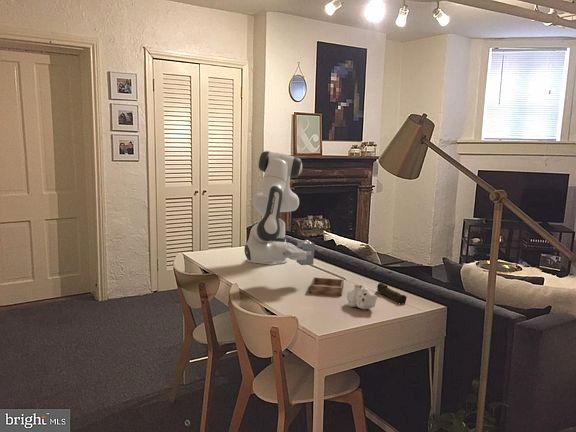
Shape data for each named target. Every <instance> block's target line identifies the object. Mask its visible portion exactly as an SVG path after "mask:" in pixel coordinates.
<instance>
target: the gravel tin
mask: <svg viewBox="0 0 576 432" xmlns="http://www.w3.org/2000/svg"><path fill="white" fill-rule="evenodd" d="M296 246H297V247H298V248H300V249H302V250H304V251H307V250H310V251H311V255H306V259H305V260H295V262H296V263H298V264H299V265H300V266H311V265H312V266H313V265H314V262H315V261H314V259H315V242H313V241H310V240H308V239H304V240H298V241H297V245H296Z"/></svg>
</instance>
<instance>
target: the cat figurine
mask: <svg viewBox="0 0 576 432" xmlns="http://www.w3.org/2000/svg"><path fill="white" fill-rule="evenodd" d="M353 286H354V289H352V290H350V291H349V292H348V293H347V294H346V300H347V301H348V303H347V306H348V307H349V308H355V307H357V308H359V309H360V310H370V309H372V308H375V307H376V302H377V299H378V298H379V296H378V295H375V294H374V293H373V292H372V291H370V290H369V288H367V287H363V285H362V284H354V285H353Z"/></svg>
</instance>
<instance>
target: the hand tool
mask: <svg viewBox="0 0 576 432" xmlns="http://www.w3.org/2000/svg"><path fill="white" fill-rule="evenodd" d="M376 289H377V292H378V293H379V294H380V295H382V296H386V297H388V298H390V299H391V300H393V301H396V302H397V304H399V303H404V304H405V303H406V302H407V296H406V295H404V294H401V293H399V292H398V291H395V290H393V289H391V288H390V287H388V285H386V284H385V283H383V282H378V284H377V287H376Z"/></svg>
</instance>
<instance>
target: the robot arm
mask: <svg viewBox="0 0 576 432" xmlns="http://www.w3.org/2000/svg"><path fill="white" fill-rule="evenodd" d="M257 165H258V169H259V170H260V171H261V172H262V173H263V178H262V181H261V192H257V193H256V194H255V195H254V196H253V199H252V206H253V208H254V209H255V210H256V211H257V212H258V213H259V214H260V215H261V216H262V219H261V220H259V221H258V222H257V223H255V224H253V225H252V227H251V228H250V231H249V237H248V240H247V242H246V244H245V245H244V250H243V251H244V255H245V258H246V260H247V261H246V262H247V263H253V264H254V263H255V264H261V265H262V264H263V265H269V266H273V265H279V264H280V265H281V264H285V263H287V262H288V259H289V260H293V261H297V260H305V259H306V255H311V251H310V250H307V251H304V250H302V249H300V248H298V247H297V245H294V244H293V243H291V242H287V239H286V238H287V237H286V222H285V221H284V220H283V219H282V218H281V217H280V213H288V212H294V211H296V210H297V209H298V208H299V206H300V198H299V196H298V195H297V194H296V193H295V192H294V191H292V189H291V185H290V184H291V178H292V179H293V178H294V179H296V178H298V177H299V176H300V174H301V173H302V171H303V162H302V159H301V158H299V157H297V156H293V155H289V154H286V153H279V152H273V151H270V150H269V151H267V150H265V151H263V152H261V153H260V155H259V156H258V160H257Z"/></svg>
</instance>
